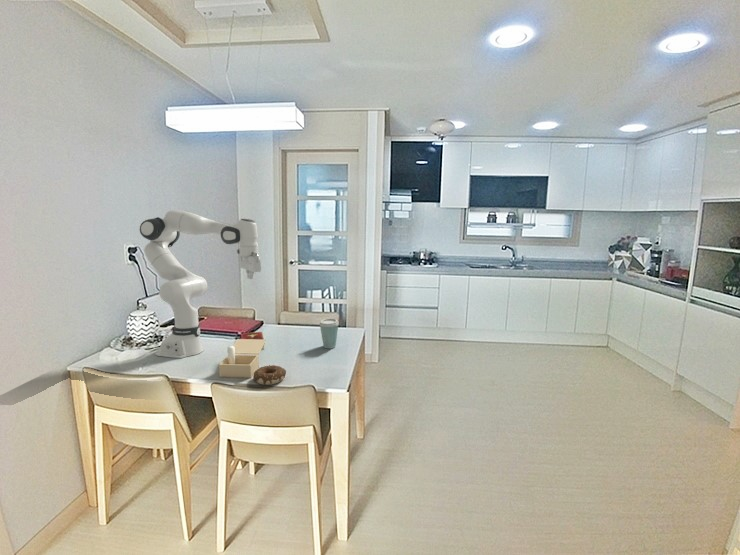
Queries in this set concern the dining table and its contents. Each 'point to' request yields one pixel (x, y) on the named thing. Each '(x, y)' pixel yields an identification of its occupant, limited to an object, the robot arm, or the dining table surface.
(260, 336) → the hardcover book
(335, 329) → the disposable coffee cup
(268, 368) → the donut
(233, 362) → the box
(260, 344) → the lid
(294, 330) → the dining table surface
